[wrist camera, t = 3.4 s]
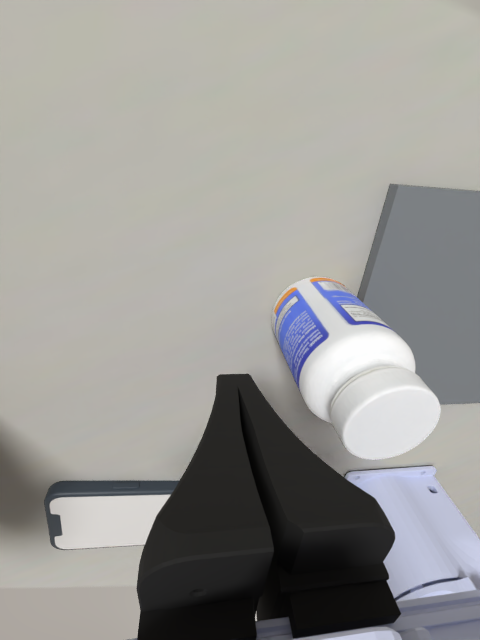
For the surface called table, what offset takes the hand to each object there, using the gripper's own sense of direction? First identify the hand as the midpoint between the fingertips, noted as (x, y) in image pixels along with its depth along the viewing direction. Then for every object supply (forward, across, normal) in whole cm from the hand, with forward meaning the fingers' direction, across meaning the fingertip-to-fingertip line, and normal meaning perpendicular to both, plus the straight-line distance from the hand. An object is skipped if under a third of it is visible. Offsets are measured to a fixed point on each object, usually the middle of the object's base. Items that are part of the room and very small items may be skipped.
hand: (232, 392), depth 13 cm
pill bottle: (+8, -6, 0) cm, 10 cm away
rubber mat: (+7, -16, 0) cm, 18 cm away
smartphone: (+8, +6, +21) cm, 23 cm away
